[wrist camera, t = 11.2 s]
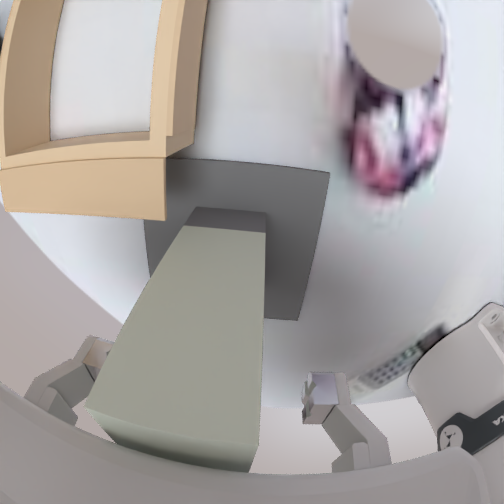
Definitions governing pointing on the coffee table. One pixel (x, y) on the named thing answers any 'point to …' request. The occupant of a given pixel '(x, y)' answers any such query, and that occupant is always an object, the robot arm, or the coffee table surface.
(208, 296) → the slim box
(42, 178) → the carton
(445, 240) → the coffee table surface
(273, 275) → the mat
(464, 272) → the coffee table surface
